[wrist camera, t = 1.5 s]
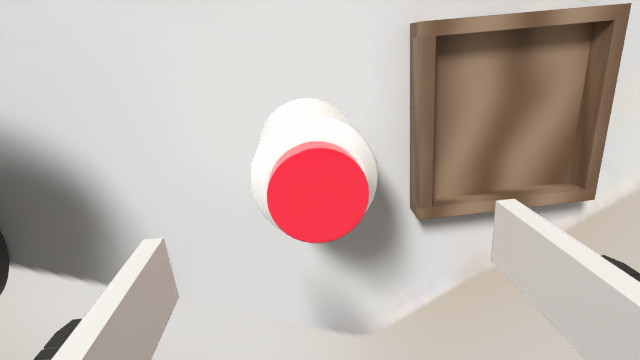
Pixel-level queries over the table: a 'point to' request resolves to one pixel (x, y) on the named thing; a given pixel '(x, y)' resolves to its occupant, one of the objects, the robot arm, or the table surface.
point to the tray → (511, 107)
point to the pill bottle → (312, 171)
